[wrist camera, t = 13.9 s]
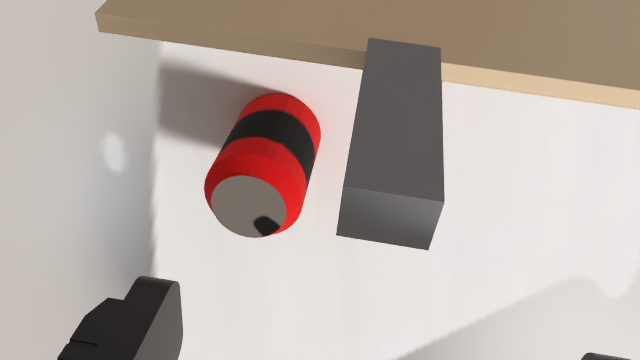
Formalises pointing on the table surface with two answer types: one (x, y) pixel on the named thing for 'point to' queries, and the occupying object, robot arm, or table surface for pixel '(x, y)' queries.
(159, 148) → the table surface
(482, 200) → the table surface
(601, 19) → the carton flap
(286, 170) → the soda can
